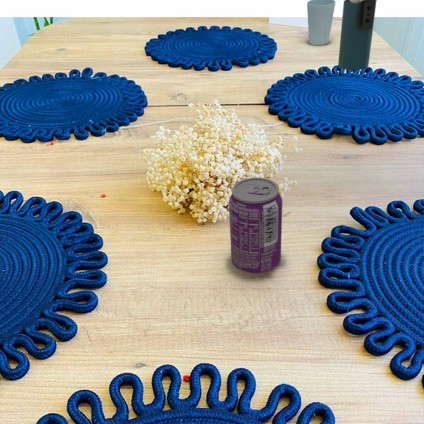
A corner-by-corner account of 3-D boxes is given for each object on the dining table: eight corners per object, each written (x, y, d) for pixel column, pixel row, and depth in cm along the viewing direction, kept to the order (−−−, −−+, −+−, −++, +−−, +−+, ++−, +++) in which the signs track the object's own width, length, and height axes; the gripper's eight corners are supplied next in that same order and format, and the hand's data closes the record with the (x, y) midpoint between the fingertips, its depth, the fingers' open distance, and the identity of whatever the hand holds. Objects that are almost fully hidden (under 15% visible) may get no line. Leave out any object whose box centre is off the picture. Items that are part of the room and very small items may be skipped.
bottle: (362, 59, 85) (371, -16, 78) (372, 68, 81) (382, -10, 74) (334, 62, 84) (340, -13, 77) (343, 71, 81) (350, -6, 74)
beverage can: (282, 249, 79) (284, 176, 71) (278, 279, 74) (280, 204, 66) (235, 246, 80) (232, 174, 72) (228, 276, 75) (224, 202, 67)
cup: (307, 47, 149) (309, 6, 142) (303, 39, 155) (304, -1, 148) (334, 45, 149) (337, 4, 142) (328, 37, 155) (332, -3, 148)
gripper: (426, -120, 63) (401, 35, 74) (380, -126, 73) (365, 11, 85) (364, -115, 62) (348, 41, 73) (327, -121, 73) (319, 16, 84)
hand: (357, 24), depth 79 cm, fingers closed on bottle, 4 cm apart
